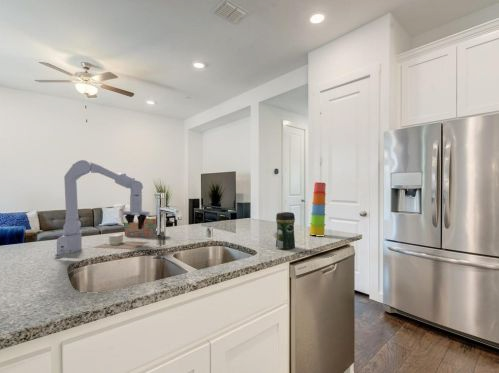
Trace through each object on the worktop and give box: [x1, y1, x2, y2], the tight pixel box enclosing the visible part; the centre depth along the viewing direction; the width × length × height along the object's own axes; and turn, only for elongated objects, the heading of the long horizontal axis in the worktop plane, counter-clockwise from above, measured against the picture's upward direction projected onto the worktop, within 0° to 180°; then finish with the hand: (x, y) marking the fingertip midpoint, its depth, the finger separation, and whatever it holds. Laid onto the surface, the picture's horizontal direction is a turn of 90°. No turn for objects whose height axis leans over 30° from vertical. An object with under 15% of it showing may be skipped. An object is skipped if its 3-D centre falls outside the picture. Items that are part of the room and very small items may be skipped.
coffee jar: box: [275, 211, 296, 250], centre depth 132 cm, size 10×8×19 cm
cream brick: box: [108, 233, 124, 244], centre depth 135 cm, size 5×5×4 cm
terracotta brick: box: [129, 221, 142, 231], centre depth 134 cm, size 5×5×4 cm
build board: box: [94, 240, 150, 250], centre depth 131 cm, size 15×21×1 cm
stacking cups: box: [309, 181, 327, 235], centre depth 165 cm, size 10×10×35 cm
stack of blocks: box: [124, 216, 158, 238], centre depth 156 cm, size 21×6×12 cm, turn 84°
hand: (135, 228), depth 134 cm, fingers closed on terracotta brick, 5 cm apart
